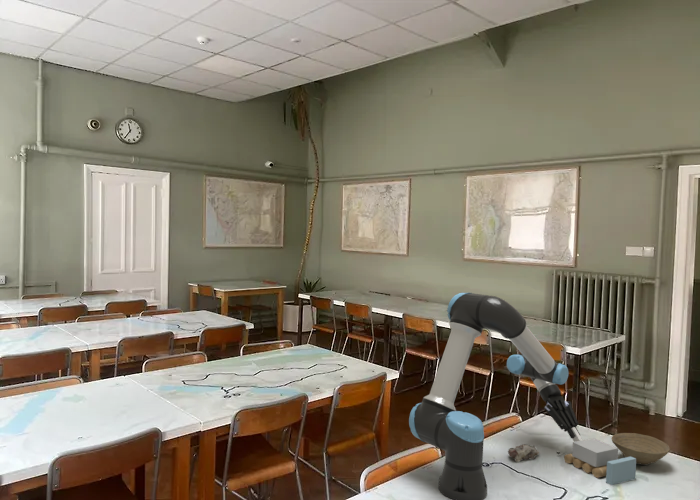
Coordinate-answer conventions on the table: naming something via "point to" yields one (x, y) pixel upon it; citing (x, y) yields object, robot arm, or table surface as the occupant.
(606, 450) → the slab
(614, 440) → the bowl
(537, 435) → the table surface
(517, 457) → the mineral rock
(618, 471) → the fence
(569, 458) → the roller bed
